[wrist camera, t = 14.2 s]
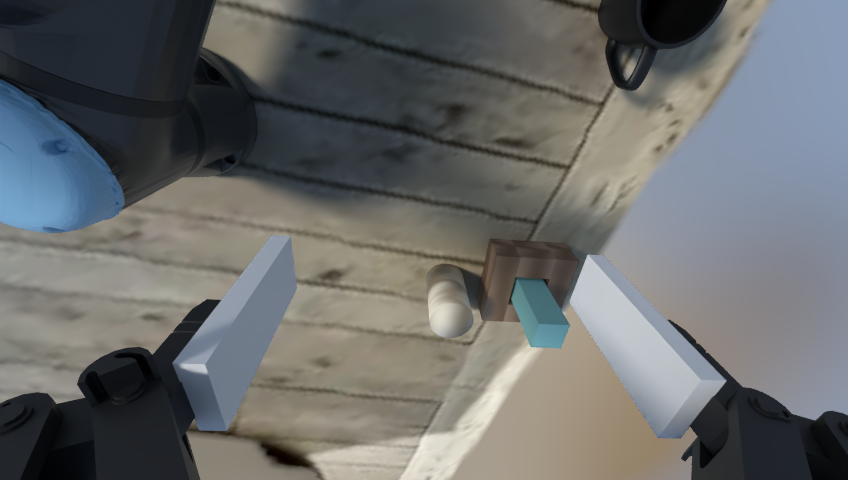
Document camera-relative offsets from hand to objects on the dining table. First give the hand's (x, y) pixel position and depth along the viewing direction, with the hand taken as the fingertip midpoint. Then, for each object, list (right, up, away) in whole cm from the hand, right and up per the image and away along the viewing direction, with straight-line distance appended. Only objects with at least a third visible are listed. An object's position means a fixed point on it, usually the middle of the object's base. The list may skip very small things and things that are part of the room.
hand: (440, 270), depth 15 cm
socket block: (+15, -4, +39) cm, 42 cm away
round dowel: (+3, -5, +39) cm, 40 cm away
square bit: (+15, -4, +39) cm, 42 cm away
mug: (+21, +26, +23) cm, 40 cm away
